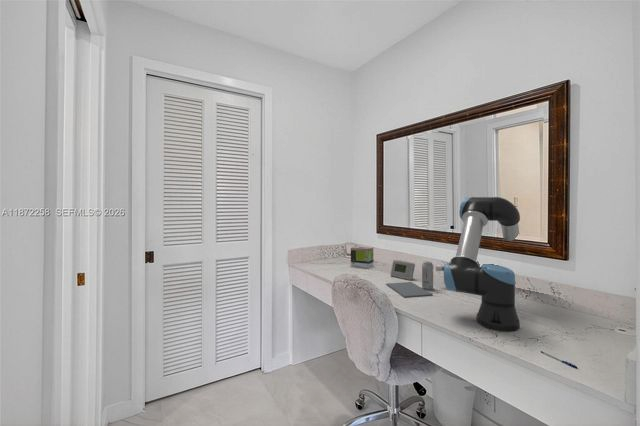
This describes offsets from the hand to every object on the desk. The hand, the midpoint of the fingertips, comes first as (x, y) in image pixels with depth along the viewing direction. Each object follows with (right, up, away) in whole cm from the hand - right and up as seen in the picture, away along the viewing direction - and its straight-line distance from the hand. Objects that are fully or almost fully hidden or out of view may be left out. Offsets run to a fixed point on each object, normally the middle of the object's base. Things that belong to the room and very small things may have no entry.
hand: (436, 268), depth 172 cm
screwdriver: (+8, -15, -78) cm, 79 cm away
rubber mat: (-17, -11, -3) cm, 21 cm away
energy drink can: (-5, -11, -1) cm, 13 cm away
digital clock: (-13, -10, +23) cm, 28 cm away
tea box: (-34, -9, +58) cm, 68 cm away
